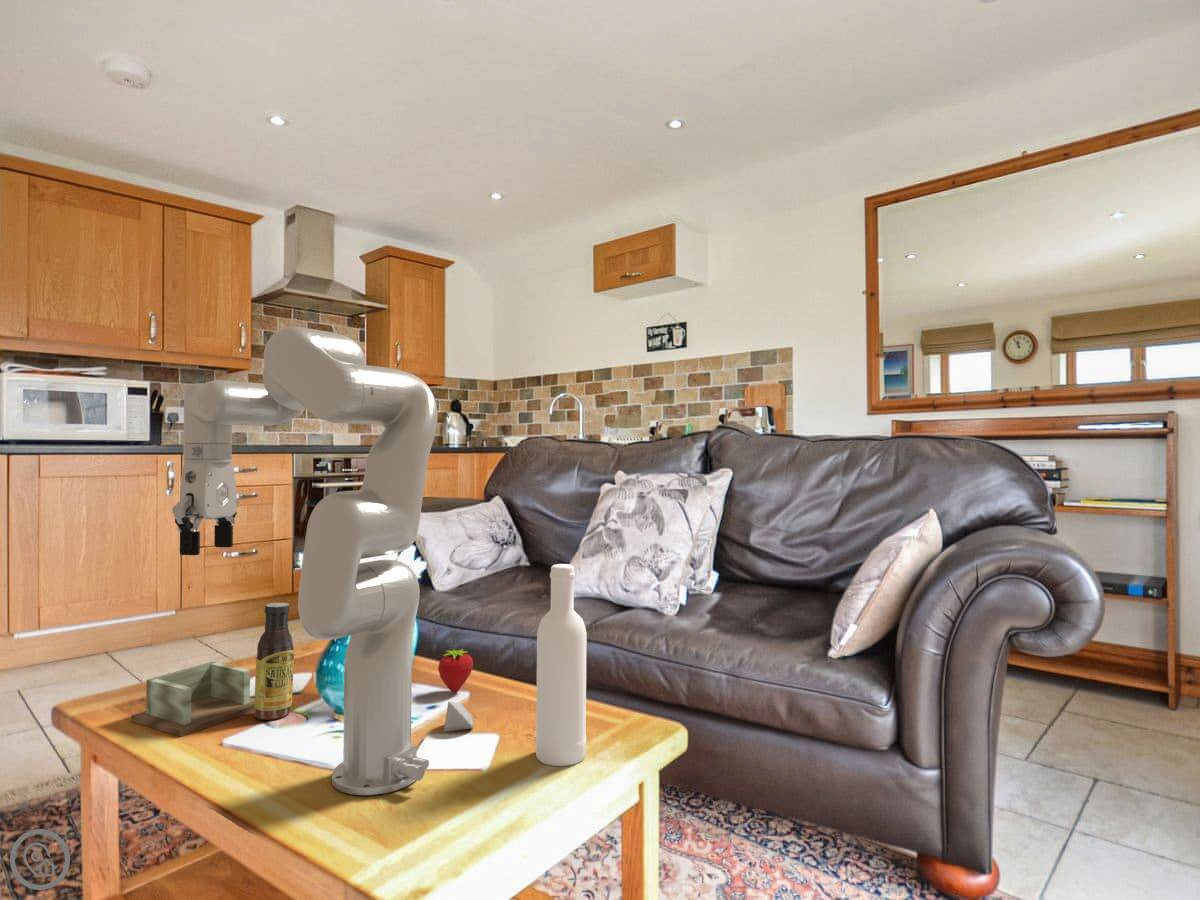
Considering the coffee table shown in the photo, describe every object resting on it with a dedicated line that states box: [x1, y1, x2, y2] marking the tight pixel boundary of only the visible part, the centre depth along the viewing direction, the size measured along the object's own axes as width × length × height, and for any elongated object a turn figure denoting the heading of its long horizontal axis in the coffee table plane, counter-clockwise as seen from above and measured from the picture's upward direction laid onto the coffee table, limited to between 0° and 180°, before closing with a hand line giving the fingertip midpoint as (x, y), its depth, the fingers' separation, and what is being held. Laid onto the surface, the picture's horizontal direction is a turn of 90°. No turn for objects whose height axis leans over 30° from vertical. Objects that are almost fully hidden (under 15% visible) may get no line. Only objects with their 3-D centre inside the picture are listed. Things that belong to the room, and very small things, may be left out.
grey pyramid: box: [443, 700, 474, 733], centre depth 124 cm, size 6×6×5 cm
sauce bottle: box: [253, 602, 295, 721], centre depth 130 cm, size 6×6×20 cm
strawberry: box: [437, 647, 474, 694], centre depth 142 cm, size 6×8×10 cm
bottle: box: [535, 563, 588, 767], centre depth 113 cm, size 8×8×30 cm
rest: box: [130, 661, 255, 738], centre depth 130 cm, size 14×16×7 cm
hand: (207, 550), depth 127 cm, fingers open, 9 cm apart
